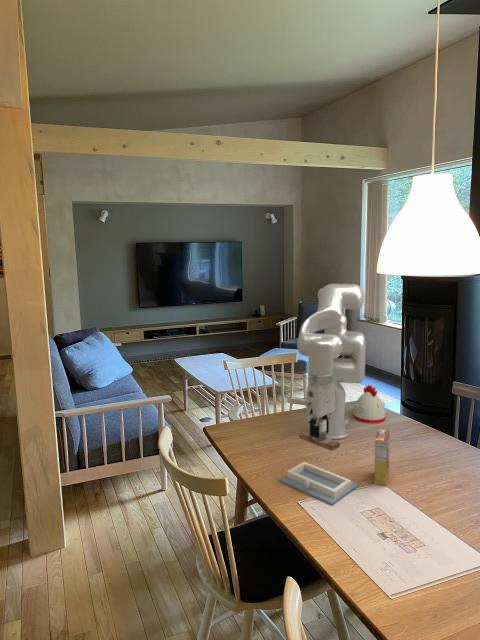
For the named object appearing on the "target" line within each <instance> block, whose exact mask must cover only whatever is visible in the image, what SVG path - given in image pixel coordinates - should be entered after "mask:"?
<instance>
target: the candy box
mask: <svg viewBox="0 0 480 640" xmlns="http://www.w3.org/2000/svg"><path fill="white" fill-rule="evenodd" d="M390 433H391V432H390V430H386V429H385V430H384V429H377V431H376V435H375V439H374V479H373V480H374V485H378V486H386V487H387V486H388V482H389V474H390V438H391V437H390Z"/></svg>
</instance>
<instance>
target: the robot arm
mask: <svg viewBox="0 0 480 640" xmlns="http://www.w3.org/2000/svg"><path fill="white" fill-rule="evenodd" d="M317 299H318V306H317V311H316V312H314V313H313V314H310V316H309V317H307V318H306V319H305V320H304V321H303V322H302V324H301V326H300V329H299V332H298V333H299V334H298V338H297V347H296V348H297V351H298V353H299V354H300V355H301V356H304V357H308V358H307V359H308V362H307V363H308V364H307V371H308V373H307V374H308V375H307V376H308V377H307V382H308V383H307V388H306V397H305V415H304V420H306V421H307V422H308V424H309V431H310V436H313V437H316V438H319V425H318V422H319V418H325V419H326V420H327V422H326V438H329V439H332V440H343V439H345V438H347V437H348V436H349V430H348V429H347V428H346V427H347V425H348V424H350V419H349V418H346V391H345V388H344V387H343V385H342V383H346V384H361V383H362V382H363V381H364V379H365V375H366V351H367V350H366V348H367V347H366V346H367V345H366V344H367V343H366V337H365V335H364V333H363V332H361V331H356V330H355V331H354V330H353V331H352V330H351V331H350V330H347V329H348V328H347V325H348V324H347V323H348V319H347V316H346V314H345V313H344V312H343V310H361V309H362V307H363V306H364V301H365V293H364V289H363V288H362V287H361V286H360V285H359V284H354V283H329V284H326V285H325V286H324V287H321V288H320V289H318V292H317ZM321 330H324V333H317V332H319V331H321ZM341 355H342V356H352V357H353V358H346V357H345V358H343V357H339V356H341ZM313 418H315V420H314V419H313Z"/></svg>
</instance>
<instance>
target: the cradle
mask: <svg viewBox="0 0 480 640" xmlns="http://www.w3.org/2000/svg"><path fill="white" fill-rule="evenodd" d="M278 482H280V483H282V484H284V485H286V486H289V487H290V488H292V489H295V490H297V491H299V492H301V493H304V494H306V495H308V496H309V497H312V498H315V499H317V500H319V501H321V502H324V503H326V504H327V505H330V506H335V504H337V503H338V502H340V501H341V500H342V499H344V498H345V497H346V496H348V495H349V494H350V493H352V492H353V491H354V490H356V489H358V488H359V486H360V484H359V483H356V482H355V481H352V480H351V479H349V478H346V477H343V476H341V475H339V474H336V473H333V472H331V471H328V470H326V469H324V468H321V467H319V466H316V465H314V464H311V463H309V462H306V461H303V462H301V463H299V464H297V465H296V466H294V467H292V468H291V469H288V470H287V471H286V475H284V476H282V477H280V478H278Z"/></svg>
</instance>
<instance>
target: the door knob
mask: <svg viewBox="0 0 480 640" xmlns="http://www.w3.org/2000/svg"><path fill="white" fill-rule="evenodd" d="M313 419H314V420H315V417H313ZM326 422H327V420H326V419H325V418H321V417H320V418H319V422H318V425H319V438H316V437H313V436H310V430H305V431H302V432H300V433H299V434H298V435H299V436H298V438H299V439H301V440H303V441H306V442H308V443H311V444H313V445H316V446H318V447H321V448H324V449H326V450H328V451H331V452H332V451H335V450H337V449H339V448H341V447H340V446H341V443H340V441H336V440H335V439H329V438H326Z"/></svg>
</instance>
